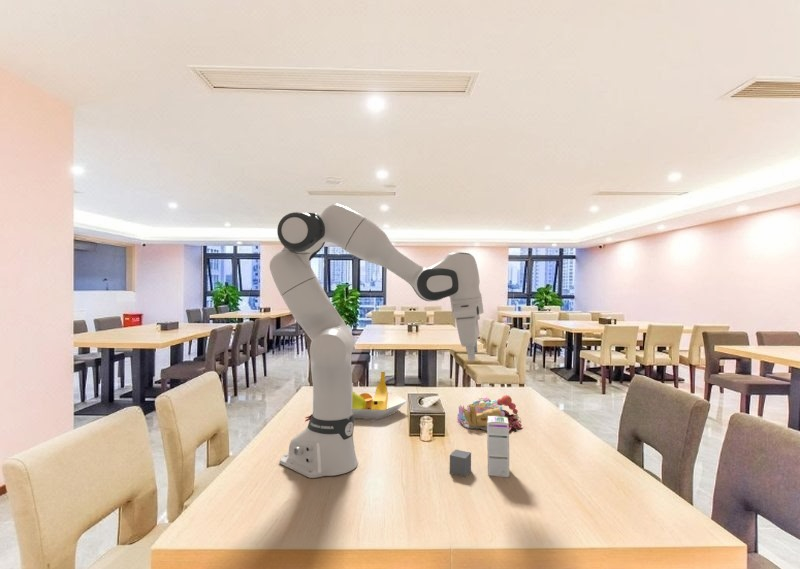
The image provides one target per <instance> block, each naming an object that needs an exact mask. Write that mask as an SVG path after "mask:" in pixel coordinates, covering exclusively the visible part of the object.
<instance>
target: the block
mask: <svg viewBox="0 0 800 569" xmlns="http://www.w3.org/2000/svg"><path fill="white" fill-rule="evenodd" d="M471 471H472V452H469V451H465V450H460V449H454V451H452V452H451V453H450V454H449V474H452V475H455V476H460V477H463V478H466V477H467V476H468V475H469V473H470V472H471Z"/></svg>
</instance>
